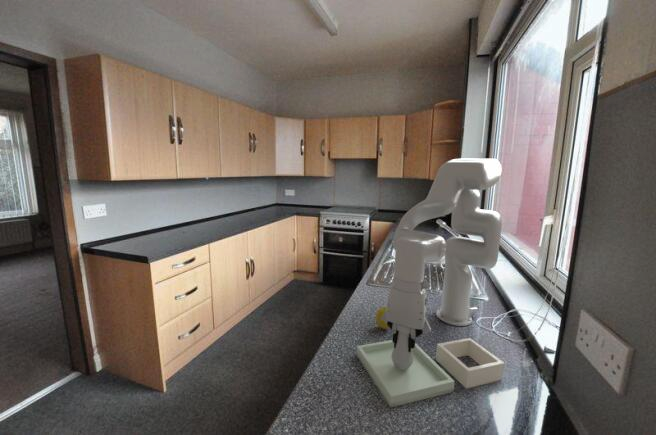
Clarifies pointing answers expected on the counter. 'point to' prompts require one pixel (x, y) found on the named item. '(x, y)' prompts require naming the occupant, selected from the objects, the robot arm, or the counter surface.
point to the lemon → (378, 318)
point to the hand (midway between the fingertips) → (403, 346)
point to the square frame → (466, 376)
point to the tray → (404, 374)
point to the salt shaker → (402, 349)
